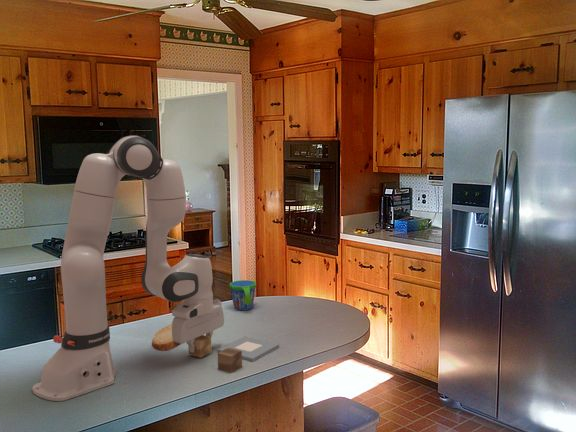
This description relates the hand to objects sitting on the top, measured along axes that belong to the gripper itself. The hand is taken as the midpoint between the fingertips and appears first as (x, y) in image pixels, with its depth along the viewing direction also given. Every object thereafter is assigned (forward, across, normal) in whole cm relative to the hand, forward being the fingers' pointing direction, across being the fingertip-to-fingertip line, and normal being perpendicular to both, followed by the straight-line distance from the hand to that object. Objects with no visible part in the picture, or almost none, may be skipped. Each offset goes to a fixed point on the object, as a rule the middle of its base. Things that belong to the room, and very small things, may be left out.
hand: (200, 348), depth 174 cm
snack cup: (+2, -45, -18) cm, 49 cm away
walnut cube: (+2, +3, +14) cm, 15 cm away
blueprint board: (+2, -11, +10) cm, 15 cm away
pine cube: (+2, 0, 0) cm, 2 cm away
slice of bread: (+3, -6, -17) cm, 18 cm away
